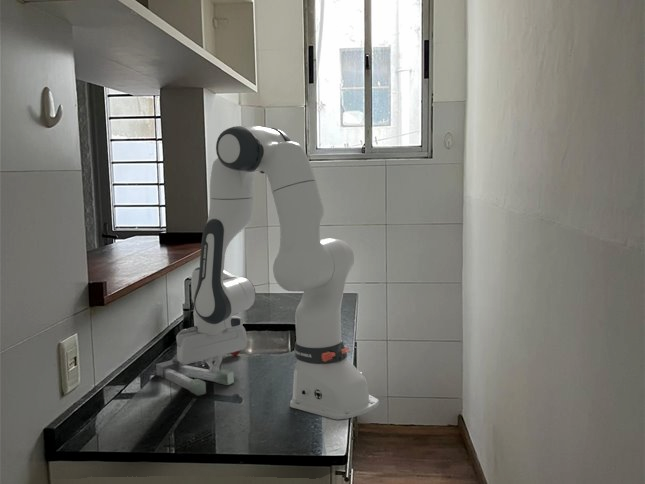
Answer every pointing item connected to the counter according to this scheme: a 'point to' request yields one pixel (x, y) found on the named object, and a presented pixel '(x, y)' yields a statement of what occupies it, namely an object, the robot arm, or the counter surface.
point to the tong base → (180, 377)
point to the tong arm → (207, 374)
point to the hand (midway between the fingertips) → (214, 372)
